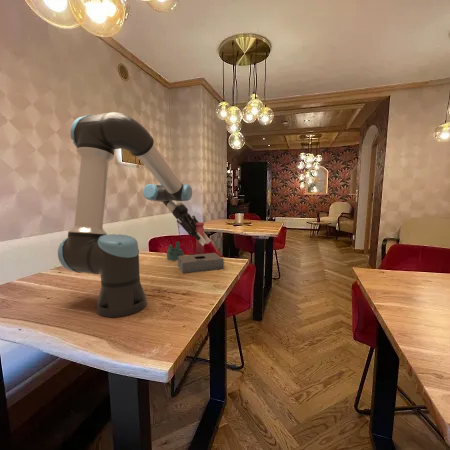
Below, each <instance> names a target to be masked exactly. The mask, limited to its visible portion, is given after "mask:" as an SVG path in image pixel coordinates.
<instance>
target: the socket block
mask: <svg viewBox="0 0 450 450" xmlns="http://www.w3.org/2000/svg"><path fill="white" fill-rule="evenodd" d="M224 262H225V259H224V258H223V257H222V256H220V255H218V254H217V253H216V252H208V253H202V254H198V253H196V254H188V255H184V254H183V256H178V260H177V267H178V268H179V270H180V271H181V274H191V273H200V272H208V271H209V272H210V271H218V270H225V268H224V267H225V265H224V264H225V263H224Z"/></svg>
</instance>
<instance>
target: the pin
mask: <svg viewBox="0 0 450 450" xmlns="http://www.w3.org/2000/svg"><path fill="white" fill-rule="evenodd" d="M195 225H196V232H199V234H200V235H201V236H202V237H203V238H204V233H205V231H204V230H203V228H204V226H205V222H201V221H200V222H199V221H198V223H195ZM195 239H196V238H195ZM195 241H196V245H195V246H196V254H205V245H204V246H202V245H201V244H200V242H199V241H198V240H197V239H196V240H195Z"/></svg>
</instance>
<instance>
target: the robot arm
mask: <svg viewBox="0 0 450 450" xmlns="http://www.w3.org/2000/svg"><path fill="white" fill-rule="evenodd" d="M70 139H71V140H72V144H73V145H74V146H75V147H76V153H77V154H79V156H80V166H79V176H78V187H77V195H76V204H75V216H74V224H73V227H72V228H70V229H69V230H68V231H67V232H68V233H67V237H66V238H65V239H63V240H62V242H60V244H59V245H58V249H57V258H58V260H59V263H60V264H61V266H62V267H63V268H64V269H66V270H68V271H71V272H75V273H79V274H80V273H81V274H82V273H85V274H93V275H100V285H101V287H100V290H99V293H98V298H97V301H96V312H97V314H98V315H99V316H101V317H105V318H119V317H127V316H129V315H133V314H135V313H138V312H140V311H142V310H143V309H144V308H145V307H146V306H147V295H146V294H145V291H144V288H143V286H142V283H141V277H140V250H139V243H138V241H137V239H136V238H135V237H133V236H131V235H127V234H119V233H118V234H115V233H113V234H107V233H108V232H106V231H105V229H104V228H103V226H104V217H105V206H106V195H107V183H108V175H109V174H108V173H109V172H108V171H109V164H110V163H109V162H111V160H113V159H114V158H115V151H116V150H118V149H119V150H121V149H122V150H125V151H127V152H128V153H130V154H131V155H132V156H134V157H137V158H138V159H139V161H140V162H141V163H142V165H144V167H146V169H147V170H148V171H149V173H151V175H152V176H153V177H154V178H155V179H156V180H157V181H158V182H159V184H155V183H152V184H151V183H148V184H146V185H144V187H143V191H142V195H143V197H144V198H145V199H146V200H149V201H151V202H153V201H154V202H160V203H161V202H162V203H163V205H164V206H165V207H166V208H167V209H168V211H170V213H172V215H173V217H174V218H175V219H177V220H176V222H177V223H178V224H179V225H180V226H181V227H182V228H183V229H184V231H186V233H187V234H188V235H189V236H191V237H192V238H193V237H195V239H197V240H198V241H199V242H200V244H201V245H202V246H204V247H205V245H208V244H210V242H212V240H211V239H210V238H209V237H208V235H207V234H206V233H205V232H204V238H203V237H202V236H201V235H200V234H199V232H196V225H195V223H198V222H199V220H198V219H197V218H196V216H195V215H193V214H190V213H188V211H189V209H188V208H187V207H186V205H185V204H184V203H183V202H186V201H187V202H188V201H190V200H191V199H192V197H193V189H192V186H191V185H190V184H184V183H183V182H181V180H180V178H179V177H178V176H177V174H176V173H175V171H173V168H172V167H171V166H170V165H169V164H168V161H167V160H166V159H165V158H164V156H163V155H162V153H161V152H160V150H158V148H157V147H156V146H155V140H154V138H153V137H152V135H151V134H150V132H149V131H148V130H147V129H146V128H145V127H144V126H143V125H142V124H141V123H140V122H138V120H135V119H134V118H133V117H132V116H129V115H127V114H125V113H123V112H118V111H111V112H105V113H98V114H85V115H84V116H80V117H77V118H76V119H75V120H74V121H73V122H72V124H71V126H70ZM204 230H205V228H204V227H203V231H204Z"/></svg>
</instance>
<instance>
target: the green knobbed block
mask: <svg viewBox="0 0 450 450" xmlns="http://www.w3.org/2000/svg"><path fill="white" fill-rule="evenodd" d="M180 243H181V242H180V241H176V242H175V247H173V245H172V244H169V245H168V247H167V248H168V249H166V260H167V259H168V261H178V256H184V250H182V248H180Z"/></svg>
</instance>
